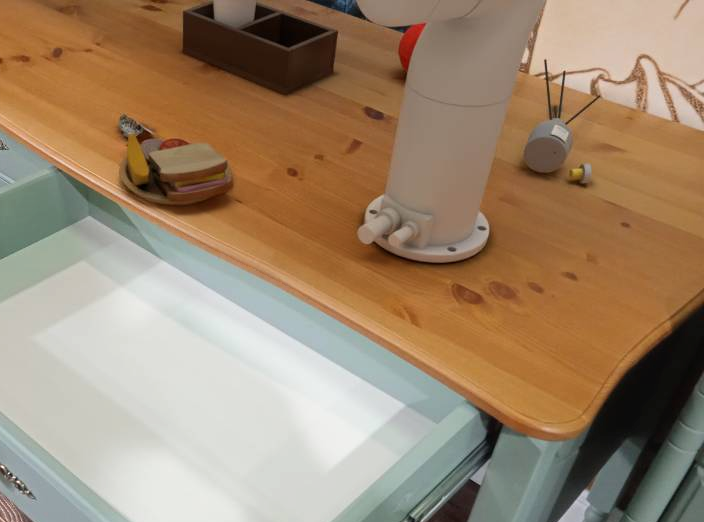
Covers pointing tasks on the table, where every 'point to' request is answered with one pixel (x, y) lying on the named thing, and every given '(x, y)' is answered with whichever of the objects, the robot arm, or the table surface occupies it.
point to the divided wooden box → (262, 46)
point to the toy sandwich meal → (174, 171)
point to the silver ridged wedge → (130, 126)
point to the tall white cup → (234, 11)
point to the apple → (409, 44)
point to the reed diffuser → (554, 142)
